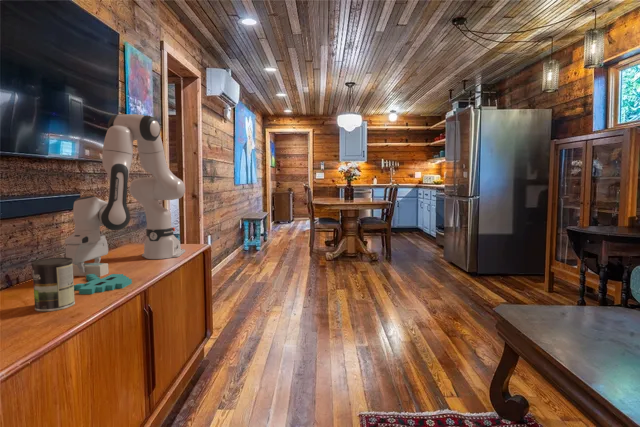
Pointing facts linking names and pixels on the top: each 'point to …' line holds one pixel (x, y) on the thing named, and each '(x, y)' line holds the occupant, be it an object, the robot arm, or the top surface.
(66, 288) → the coffee can
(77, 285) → the alien figure
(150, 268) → the top surface
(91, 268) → the beige rectangular block
